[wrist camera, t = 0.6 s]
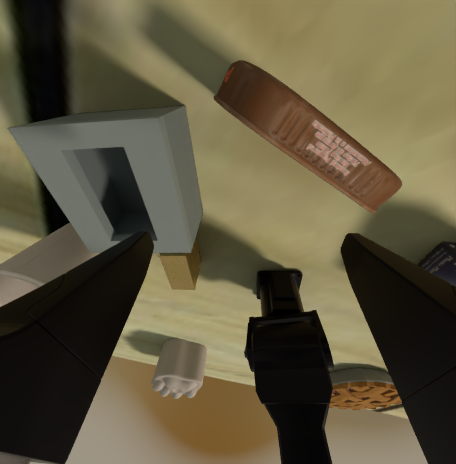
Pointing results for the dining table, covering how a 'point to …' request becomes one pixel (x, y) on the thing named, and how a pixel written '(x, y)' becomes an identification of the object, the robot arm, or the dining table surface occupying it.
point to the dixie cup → (42, 263)
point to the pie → (362, 389)
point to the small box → (442, 262)
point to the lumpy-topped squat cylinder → (180, 368)
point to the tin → (306, 135)
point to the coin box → (120, 174)
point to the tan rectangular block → (182, 268)
